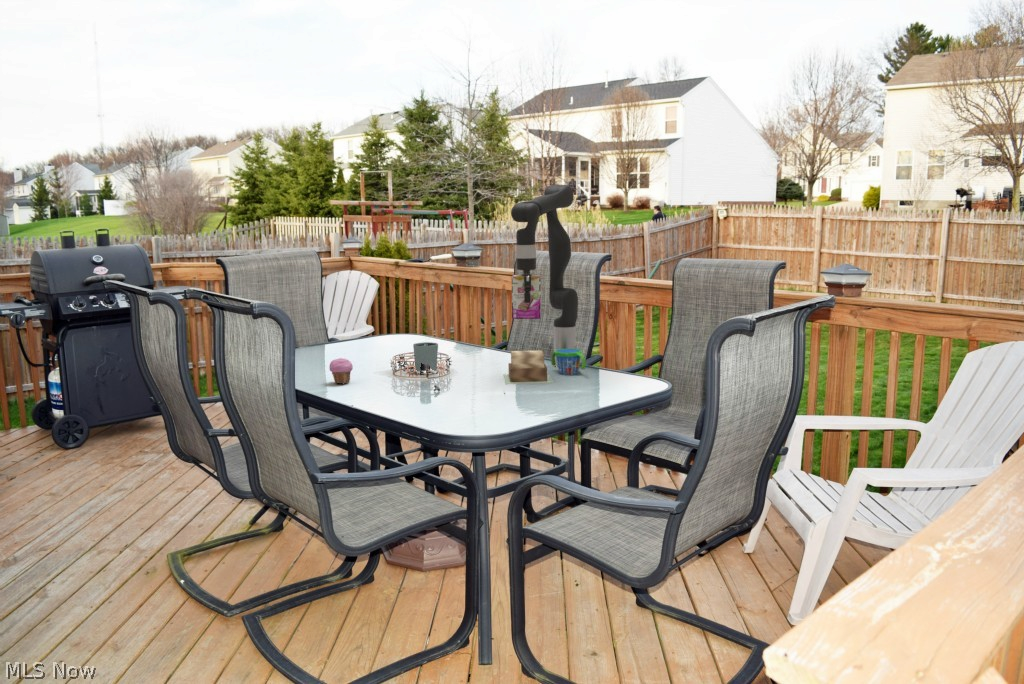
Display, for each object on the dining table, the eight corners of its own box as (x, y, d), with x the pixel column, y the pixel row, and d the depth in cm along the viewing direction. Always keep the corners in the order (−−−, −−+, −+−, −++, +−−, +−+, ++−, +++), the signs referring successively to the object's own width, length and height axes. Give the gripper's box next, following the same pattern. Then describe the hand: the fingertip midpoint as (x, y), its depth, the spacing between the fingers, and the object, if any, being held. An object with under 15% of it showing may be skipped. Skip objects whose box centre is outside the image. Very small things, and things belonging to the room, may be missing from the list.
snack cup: (545, 374, 314) (544, 350, 312) (563, 371, 321) (562, 346, 319) (573, 380, 303) (573, 354, 301) (591, 376, 310) (591, 351, 308)
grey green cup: (412, 375, 318) (411, 346, 316) (416, 370, 328) (415, 342, 326) (437, 374, 317) (436, 345, 315) (440, 370, 327) (439, 341, 325)
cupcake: (347, 386, 299) (346, 360, 297) (326, 385, 301) (325, 360, 299) (356, 381, 307) (355, 356, 306) (336, 380, 309) (334, 355, 308)
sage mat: (548, 376, 311) (548, 373, 311) (553, 385, 294) (553, 382, 293) (503, 377, 310) (503, 374, 310) (505, 387, 293) (505, 384, 292)
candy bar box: (511, 319, 296) (510, 276, 294) (512, 317, 301) (512, 275, 299) (541, 319, 295) (540, 275, 292) (541, 317, 300) (541, 274, 297)
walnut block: (544, 374, 308) (544, 362, 307) (547, 381, 296) (547, 368, 296) (508, 375, 307) (508, 363, 307) (510, 382, 296) (510, 369, 295)
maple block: (541, 362, 306) (541, 350, 306) (544, 367, 296) (544, 354, 296) (511, 363, 306) (510, 351, 305) (512, 368, 296) (512, 355, 295)
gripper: (537, 257, 288) (538, 303, 290) (534, 255, 302) (534, 299, 304) (517, 258, 287) (518, 304, 290) (514, 256, 301) (515, 299, 304)
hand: (526, 301), depth 297 cm, fingers closed on candy bar box, 5 cm apart
